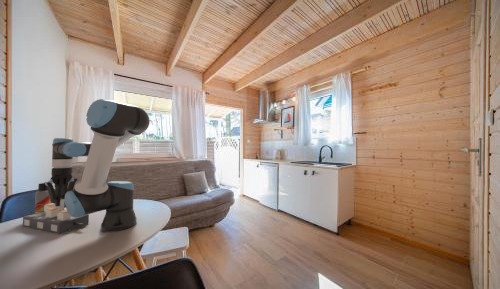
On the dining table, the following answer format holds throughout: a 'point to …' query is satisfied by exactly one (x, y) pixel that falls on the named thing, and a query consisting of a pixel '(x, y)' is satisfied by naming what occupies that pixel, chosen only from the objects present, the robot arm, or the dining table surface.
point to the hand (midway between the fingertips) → (60, 211)
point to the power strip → (54, 223)
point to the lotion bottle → (41, 198)
